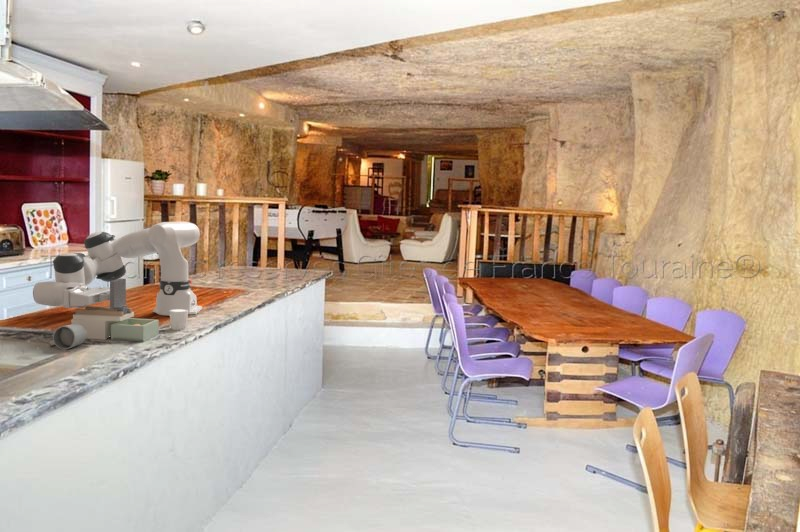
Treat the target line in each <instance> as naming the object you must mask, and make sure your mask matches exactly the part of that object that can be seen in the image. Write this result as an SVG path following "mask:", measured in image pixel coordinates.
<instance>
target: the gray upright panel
mask: <svg viewBox="0 0 800 532" xmlns="http://www.w3.org/2000/svg"><path fill="white" fill-rule="evenodd" d="M109 287H110V300H109V307H110V309H116V308H117V311H121V312H124V314H127V313H128V309H129V305H127V299H126V297H127V293H126V292H127V283H126V278H120V279H117V280H113V281H110V282H109Z"/></svg>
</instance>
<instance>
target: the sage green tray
mask: <svg viewBox="0 0 800 532" xmlns="http://www.w3.org/2000/svg"><path fill="white" fill-rule="evenodd" d="M159 322H160V321H159V319H153V318H152V319H150V318H134V317H131V318H128V319H125V320H123V321H119V322H116V323H113V324H111V337H110V339H111V341H124V342H125V341H126V342H139V343H143V342H146V341H149V340H151V339H152V337H153V338H155V337H157V336H159V333H160V331H159V329H160V328H159V324H160V323H159ZM134 324H140V325H134ZM156 335H157V336H156ZM154 336H155V337H154ZM150 338H151V339H150Z"/></svg>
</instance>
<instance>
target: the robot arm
mask: <svg viewBox="0 0 800 532" xmlns="http://www.w3.org/2000/svg"><path fill="white" fill-rule="evenodd" d="M115 237H116V235H114V234H110V233H108V232H107V231H96V232H92V233H90V234H89V235H87V237H85V239H84V240H83V242H84V243H83V244H84V248H85V249H86V251H87V254H88V255H85V254H84V253H82V252H78V253H77V252H67V253H61V254H58V255H57V256H56V257H55V258H54V259H53V261H52V265H53V270H54V278H55V281H40V282H37V283H35V284H34V286H33V288H32V297H33V300H34V302H35V303H36V304H38V305H42V306H49V307H62V306H63V308H65V309H71V308H74V309H75V308H76V309H84V308H85V307H86V306H91V305H95V304H98V303H102V302H105V301H110V286H109V287H105V286H104V287H102V286H99V287H93V288H91V287H89V286H88V285H90V284H92V282H93V281H94V280H95V278H96V279H97V280H101V281H103V282H106V283H110V281H113V280H117V279H122V278H123V277H124V276H125V275H126V273H127V269H126V266H125V264H124V262H123V259H134V258H135V259H137V258H140V257H141V258H142V257H146V256H149V255H153V254H157V255H158V258H159V262H160V280H159V289H160V290H159V291H158V292H157V293H156V299H155V300H156V301H155V308H154V309H152V312H153V313H156V315H160V316H169V317H170V313H169V310H173V309H186V310H188V315H197V314H198V313H199V312H200V311H201V310H202V309H203V306H202V305H198V303H197V302H198V301H197V298H198V297H197V295H196V294H195V293H194V291H192V289H191V285H192V283H193V280H192V279H189V262H188V260H187V259H186V258H185V257H184V255H183V253H182V250H181V249H183V248H187V247H190V246H192V245H193V246H194V245H195V244H197V242H199V240H200V237H201V232H200V228H199V227H198V226H197V225H196V223H193V222H191V221H190V222H189V221H185V220H184V221H181V220H180V221H161V222H158V223H156V224H153V225H151V226H150V227H147V228H144V229H141V230H137V231H133V232H130V233H128V234H127V233H126V234H125V235H123V236H121V237H119V238H117V239H115ZM122 258H123V259H122Z"/></svg>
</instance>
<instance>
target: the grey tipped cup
mask: <svg viewBox="0 0 800 532" xmlns="http://www.w3.org/2000/svg"><path fill="white" fill-rule="evenodd" d="M86 337H87V332H86V329H85V328H84V327H83V326H82V325H79V324H72V323H71V324H66V325H61V326H59V327H57V328H56V329H55V330H54V332H53V334H52V339H51V340H50V341H49V345H50V347H53V346H56V347H57V348H58V349H60V350H68V349H72V348H74V347H76V346H79V345H82V344H83V343H85V341H86V340H87V339H86Z"/></svg>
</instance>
